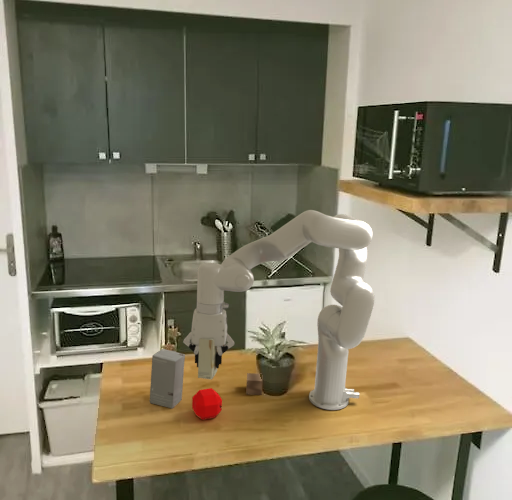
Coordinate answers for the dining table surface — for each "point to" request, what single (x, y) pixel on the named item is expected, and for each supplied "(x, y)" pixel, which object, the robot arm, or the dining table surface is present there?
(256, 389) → the walnut block
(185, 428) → the dining table surface
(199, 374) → the skincare box
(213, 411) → the ball
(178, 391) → the skincare box
